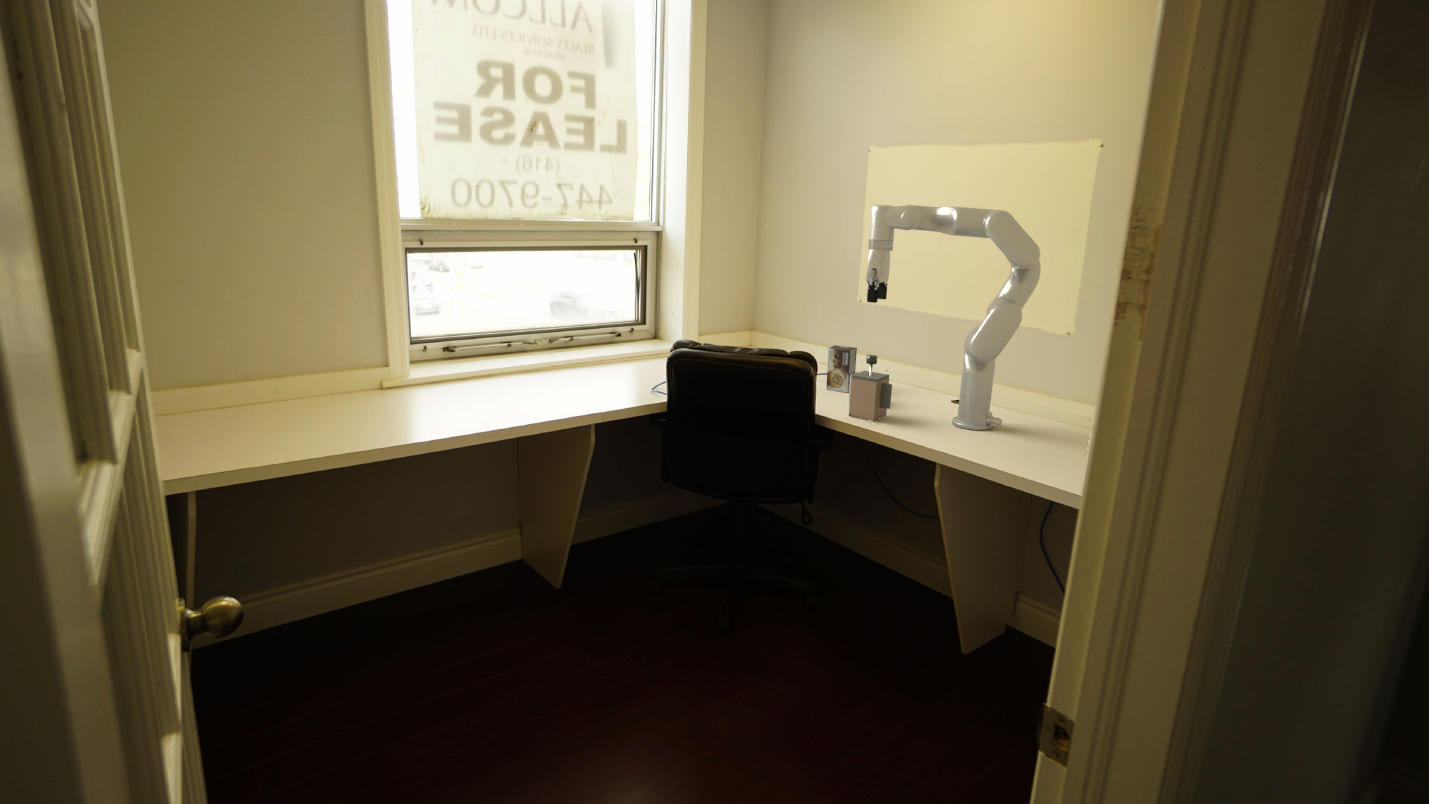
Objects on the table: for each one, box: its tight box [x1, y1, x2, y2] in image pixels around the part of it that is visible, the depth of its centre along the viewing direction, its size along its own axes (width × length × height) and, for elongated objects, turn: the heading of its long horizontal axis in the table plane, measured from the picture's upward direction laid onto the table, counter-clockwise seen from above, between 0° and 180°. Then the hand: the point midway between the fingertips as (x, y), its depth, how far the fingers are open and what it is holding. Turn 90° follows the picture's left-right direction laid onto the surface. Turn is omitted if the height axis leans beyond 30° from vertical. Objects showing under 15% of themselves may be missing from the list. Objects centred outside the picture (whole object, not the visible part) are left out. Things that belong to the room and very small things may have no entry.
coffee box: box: [825, 344, 858, 394], centre depth 287 cm, size 9×6×16 cm
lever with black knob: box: [865, 354, 878, 376], centre depth 252 cm, size 6×6×17 cm
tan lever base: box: [848, 370, 893, 422], centre depth 252 cm, size 12×9×14 cm
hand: (876, 300), depth 245 cm, fingers open, 9 cm apart
